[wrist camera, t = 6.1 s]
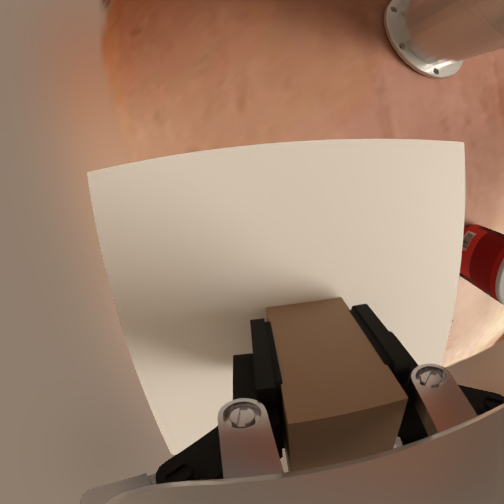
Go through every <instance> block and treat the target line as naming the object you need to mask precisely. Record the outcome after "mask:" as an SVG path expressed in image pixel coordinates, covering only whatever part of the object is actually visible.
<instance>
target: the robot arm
mask: <svg viewBox="0 0 504 504" xmlns="http://www.w3.org/2000/svg"><path fill="white" fill-rule="evenodd" d="M384 27H385V31H386V34H387V37H388V39H389V41H390V43H391V45H392V47H393V48H394V50H395V51H396V53H397V54H398V55H399V56H400V58H401V59H402V60H403V61H404V62H405V63H406V64H407V65H409V66H410V67H411V68H412V69H414V70H415V71H417V72H419V73H420V74H422V75H425V76H427V77H431V78H446V77H449V76H452V75H454V74H455V73H456V72H458V70H459V69H460V67H461V66H462V63H463V60H464V59H467V58H471V57H474V56H477V55H481V54H484V53H488V52H491V51H495V50H498V49H502V48H504V0H392V1H391V2H390V3H389V4H388V5H387V7H386V9H385V13H384ZM349 311H350V313H351V314H352V316H353V317H354V319H355V320H356V322H357V323H358V325H359V326H360V328H361V329H362V331H363V332H364V334H365V335H366V337H367V338H368V340H369V341H370V343H371V344H372V346H373V347H374V349H375V350H376V352H377V353H378V355H379V356H380V358H381V360H382V361H383V363H384V364H385V365H388V367H389V368H390V370H391V371H392V373H393V375H394V376H395V378H396V379H397V381H398V382H399V384H400V385H401V387H402V389H403V390H404V392H405V393H406V395H407V396H408V401H407V404H406V408H405V412H404V415H403V418H402V422H401V425H400V428H399V431H398V435H397V438H396V441H395V443H396V446H397V448H394V449H391V450H387V451H384V452H381V453H377V454H374V455H370V456H366V457H362V458H358V459H354V460H350V461H346V462H341V463H337V464H332V465H327V466H322V467H317V468H312V469H306V470H300V471H293V472H286V473H284V471H283V468H282V465H281V461H280V458H281V457H283V456H282V448H285V435H284V420H283V405H282V391H281V384H283V382H282V377H281V372H280V367H279V362H278V357H277V352H276V347H275V342H274V337H273V332H272V327H271V322H270V321H268V322H265V319H264V318H261V319H253V320H250V325H251V337H252V349H253V353H249V354H239V355H233V400H232V401H230V402H228V403H226V404H225V405H223V406H222V407H221V409H220V410H219V412H218V417H217V419H218V426H217V427H215V428H214V429H213V430H211V431H210V432H209V433H207V434H206V435H204V436H203V437H202V438H200V439H199V440H197V441H196V442H194V443H193V444H192V445H190V446H189V447H187V448H186V449H184V450H183V451H181V452H180V453H178V454H177V455H175V456H174V457H172V458H171V459H169V460H168V461H166V462H165V463H164V464H162V465H161V466H160V467H159V469H158V471H157V472H156V474H153V475H150V476H148V475H147V474H146V473H145V474H142V475H138V476H135V477H132V478H128V479H125V480H122V481H118V482H114V483H111V484H107V485H103V486H99V487H95V488H92V489H90V490H88V491H86V492H85V493H84V494H83V495H82V498H81V500H80V504H504V397H503V396H501V395H499V394H496V393H493V392H488V391H483V390H478V389H473V388H470V387H465V386H461V385H458V384H457V383H456V381H455V380H454V378H453V377H452V375H451V374H450V372H449V371H448V370H447V369H446V368H444V367H442V366H440V365H437V364H430V363H429V364H422V365H418V364H417V363H416V361H415V360H414V359H413V358H412V356H411V355H410V354H409V352H408V351H407V350H406V349H405V347H404V346H403V345H402V343H401V342H400V341H399V340H398V338H397V337H396V336H395V335H394V333H392V332H391V331H388V330H387V328H386V327H385V326H384V325H383V323H382V322H381V321H380V319H379V318H378V317H377V316H376V315H375V313H374V312H373V311H372V310H371V308H370V307H369V306H368V305H367V304H361V305H355V306H352V308H351V310H349Z"/></svg>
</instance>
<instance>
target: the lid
mask: <svg viewBox="0 0 504 504" xmlns="http://www.w3.org/2000/svg"><path fill="white" fill-rule="evenodd" d="M87 176H88V183H89V190H90V196H91V202H92V208H93V214H94V219H95V224H96V229H97V234H98V238H99V244H100V248H101V253H102V257H103V261H104V266H105V270H106V274H107V278H108V281H109V285H110V289H111V293H112V297H113V300H114V304H115V307H116V311H117V314H118V317H119V321H120V324H121V327H122V330H123V334H124V336H125V340H126V343H127V346H128V349H129V352H130V355H131V357H132V360H133V363H134V366H135V369H136V371H137V374H138V377H139V380H140V382H141V385H142V387H143V390H144V393H145V395H146V398H147V400H148V402H149V405H150V407H151V410H152V412H153V415H154V417H155V419H156V422H157V424H158V426H159V428H160V430H161V433H162V435H163V437H164V439H165V442H166V444H167V446H168V448H169V450H170V452H171V454H178V453H180V452H181V451H183V450H184V449H186V448H187V447H189V446H190V445H192V444H193V443H194V442H196V441H197V440H199V439H200V438H202V437H203V436H204V435H206V434H207V433H209V432H210V431H211V430H213V429H214V428H215V427H217V426H218V419H217V417H218V412H219V410H220V409H221V407H222V406H223V405H225V404H226V403H228V402H230V401H232V400H233V355H239V354H249V353H253V349H252V337H251V325H250V320H253V319H261V318H264V319H265V322H268V321H270V322H271V327H272V332H273V337H274V342H275V347H276V352H277V357H278V362H279V367H280V372H281V377H282V382H283V384H281V391H282V405H283V420H284V435H285V452H286V458H287V465H288V471H289V472H293V471H300V470H306V469H312V468H317V467H322V466H327V465H332V464H337V463H341V462H346V461H350V460H354V459H358V458H362V457H366V456H370V455H374V454H377V453H381V452H384V451H387V450H391V449H393V447H394V444H395V441H396V438H397V435H398V431H399V428H400V425H401V422H402V418H403V415H404V412H405V408H406V404H407V401H408V396H407V395H406V393H405V392H404V390H403V389H402V387H401V385H400V384H399V382H398V381H397V379H396V378H395V376H394V375H393V373H392V371H391V370H390V368H389V367H388V365H385V364H384V363H383V361H382V360H381V358H380V356H379V355H378V353H377V352H376V350H375V349H374V347H373V346H372V344H371V343H370V341H369V340H368V338H367V337H366V335H365V334H364V332H363V331H362V329H361V328H360V326H359V325H358V323H357V322H356V320H355V319H354V317H353V316H352V314H351V313H350V311H349V310H351V308H352V306H355V305H361V304H367V305H368V306H369V307H370V308H371V310H372V311H373V312H374V313H375V315H376V316H377V317H378V318H379V319H380V321H381V322H382V323H383V325H384V326H385V327H386V328H387V330H388V331H391V332H392V333H394V335H395V336H396V337H397V338H398V340H399V341H400V342H401V343H402V345H403V346H404V347H405V349H406V350H407V351H408V352H409V354H410V355H411V356H412V358H413V359H414V360H415V361H416V363H417V364H418V365H422V364H429V363H430V364H437V365H440V366H442V362H443V358H444V354H445V350H446V346H447V341H448V337H449V332H450V328H451V323H452V318H453V312H454V307H455V301H456V295H457V288H458V281H459V274H460V266H461V257H462V246H463V233H464V216H465V154H464V142H453V141H436V140H413V139H340V140H315V141H297V142H283V143H270V144H259V145H249V146H239V147H230V148H222V149H214V150H206V151H199V152H192V153H185V154H179V155H172V156H166V157H160V158H154V159H149V160H143V161H138V162H133V163H128V164H123V165H118V166H113V167H108V168H104V169H99V170H95V171H90V172H87Z"/></svg>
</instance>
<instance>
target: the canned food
mask: <svg viewBox="0 0 504 504" xmlns="http://www.w3.org/2000/svg"><path fill="white" fill-rule="evenodd" d="M459 276H461V277H462V278H464V279H466V280H467V281H469V282H470V283H472V284H473V285H475V286H476V287H478V288H479V289H481V290H482V291H484V292H485V293H487V294H488V295H489V296H491V297H492V298H494V299H495V300H497V301H499V302H500V303H501V304H504V234H501V233H499V232H496V231H493V230H491V229H488V228H486V227H483V226H480V225H469V226H467V227H465V228H464V233H463V246H462V257H461V266H460V274H459Z"/></svg>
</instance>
